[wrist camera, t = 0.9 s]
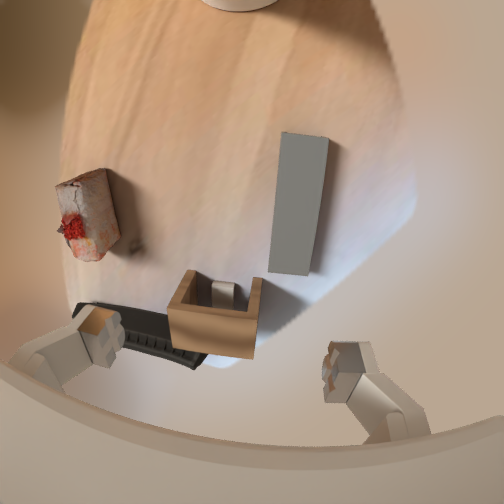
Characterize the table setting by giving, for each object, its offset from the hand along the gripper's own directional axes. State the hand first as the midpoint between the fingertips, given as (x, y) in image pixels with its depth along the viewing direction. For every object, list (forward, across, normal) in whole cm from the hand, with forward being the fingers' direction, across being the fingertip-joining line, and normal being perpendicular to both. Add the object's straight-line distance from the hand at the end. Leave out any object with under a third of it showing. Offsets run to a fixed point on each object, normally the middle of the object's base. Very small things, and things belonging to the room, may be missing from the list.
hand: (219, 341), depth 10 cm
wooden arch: (+32, +5, +21) cm, 38 cm away
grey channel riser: (+32, -5, +4) cm, 32 cm away
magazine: (+32, +21, +29) cm, 48 cm away
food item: (+32, +27, +7) cm, 43 cm away
